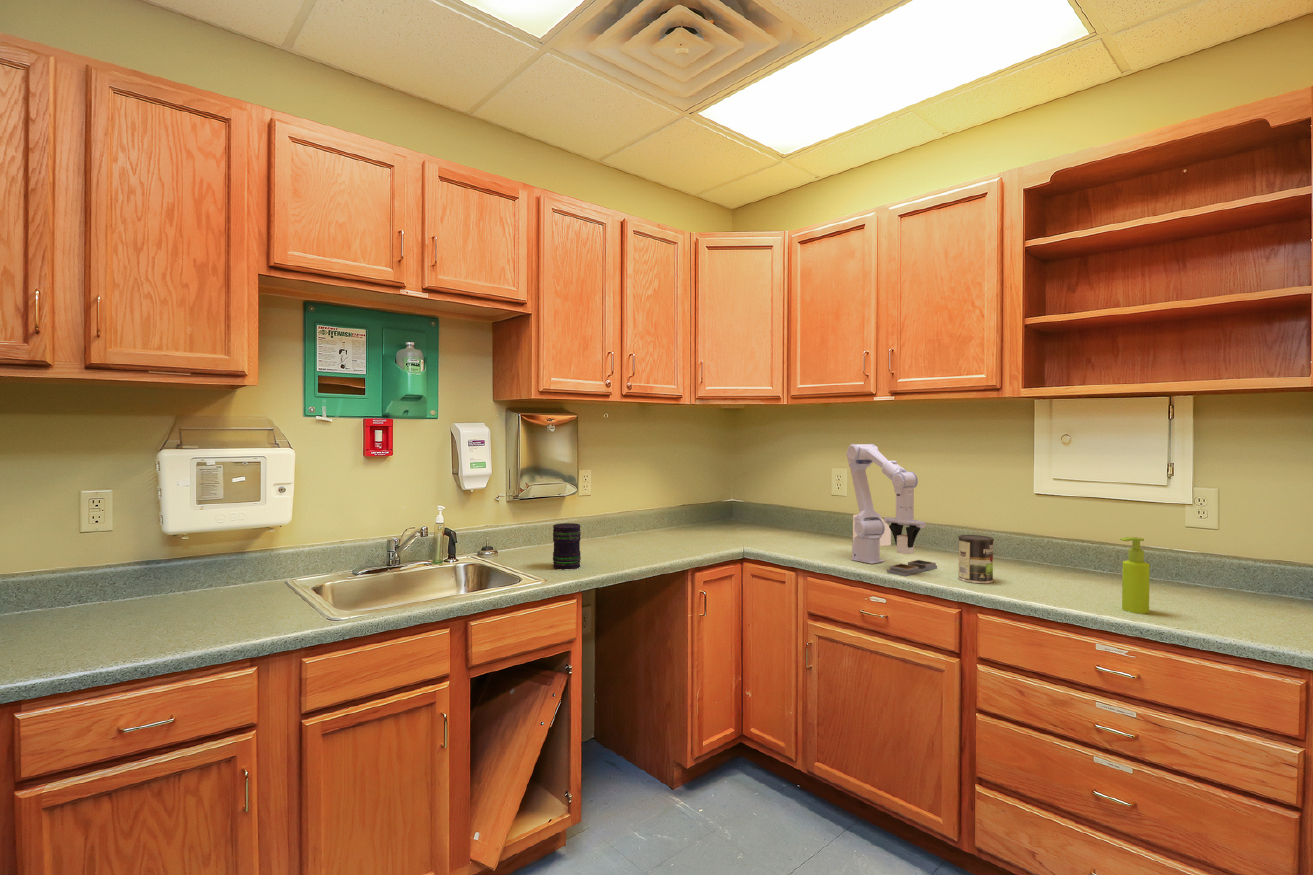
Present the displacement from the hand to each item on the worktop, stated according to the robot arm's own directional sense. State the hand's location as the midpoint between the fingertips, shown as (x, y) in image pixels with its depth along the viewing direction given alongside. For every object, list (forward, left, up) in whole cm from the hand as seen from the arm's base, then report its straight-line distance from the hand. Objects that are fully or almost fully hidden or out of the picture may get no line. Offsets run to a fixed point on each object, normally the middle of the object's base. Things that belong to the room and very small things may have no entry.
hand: (904, 546), depth 216 cm
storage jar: (-76, -90, -9) cm, 118 cm away
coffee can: (+20, +9, -9) cm, 24 cm away
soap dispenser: (+63, +9, -9) cm, 64 cm away
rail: (0, +5, -9) cm, 10 cm away
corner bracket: (-39, +38, -9) cm, 55 cm away
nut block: (0, +1, -2) cm, 2 cm away
